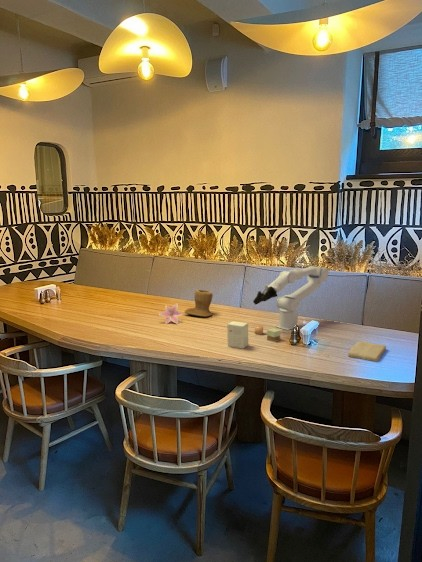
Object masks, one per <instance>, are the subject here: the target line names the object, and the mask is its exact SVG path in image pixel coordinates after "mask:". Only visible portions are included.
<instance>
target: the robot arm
mask: <svg viewBox="0 0 422 562" xmlns="http://www.w3.org/2000/svg"><path fill="white" fill-rule="evenodd" d="M305 276H307V277H306V278H307V279H306V281H307V283H306V284H304V285H302V286H301V287H300V288H298V289H296V290H295V291H293V292H292V293H291V294H290V293H289V294H285V295H283V296H279V297H278V293H279V292H280V291H282V290H283V289H284V288H285V287H287V285H289V284H294V283H295V282H296V281H299V280H302V279H303V278H304V277H305ZM328 276H329V269H328V268H327V267H322V266H321V267H320V266H314V265H309V266H308V267H305V268H303V269H301V268H299V267H295V268H294V269H289V270H284V271H280V273H279V276H278V277H277V278H276V279H275V280H273V281H272V282H271V283H270V284H268V283H267V284H265V285H264V289H263V290H262V292H261V290H259V291H257V294H256V296H255V298H254V299H253V304H254V305H255V306H256V305H258V304H260V303H262V302H267V301H268V300H270V299H273V298H276V297H278V298H277V300H276V302H275V303H276V307H277V309H278V311H279V324H278V325H276V326H275V328H277V329H278V328H279V329H280V330H281V329H282V330H285V331H289V330H292V329H294V328H293V327H294V326H295V325H299V324H298V323H299V322H298V321H299V320H298V318H299V315H298V312H297V308H298V307H299V306H300V302H301V301H302V300H303V299H305V298H307V297H308V296H309V295H310V294H312V293H313V292H315V291H316V290H318V289H319V287H320V286H321V284H322V283H323V282H325V281H327V280H328Z"/></svg>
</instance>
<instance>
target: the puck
mask: <svg viewBox="0 0 422 562" xmlns="http://www.w3.org/2000/svg"><path fill="white" fill-rule="evenodd" d="M254 334H255V335H256V336H261V335H262V336H263V335H264V326H262V325H255V326H254Z"/></svg>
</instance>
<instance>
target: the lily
mask: <svg viewBox="0 0 422 562" xmlns="http://www.w3.org/2000/svg"><path fill="white" fill-rule="evenodd" d="M178 303H179V302H178ZM178 303H174V304H173V305H171V307H170V306H168V305H166V304H165V307H164V308H165V310H164V311H162V312H159V313H158V316H159V317H163V318H165V325H167V324H169V323H170V322H173V323H175V324H176V325H179V317H180V316H183V315H184V312H182V311H178V308H179V304H178Z"/></svg>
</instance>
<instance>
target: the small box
mask: <svg viewBox="0 0 422 562" xmlns="http://www.w3.org/2000/svg"><path fill="white" fill-rule="evenodd" d="M226 330H227V347H231V348H237V349H238V348H239V349H245V348H246V347H248V346H249V323H248V322H241V321H231V322H229V323H227V328H226Z"/></svg>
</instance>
